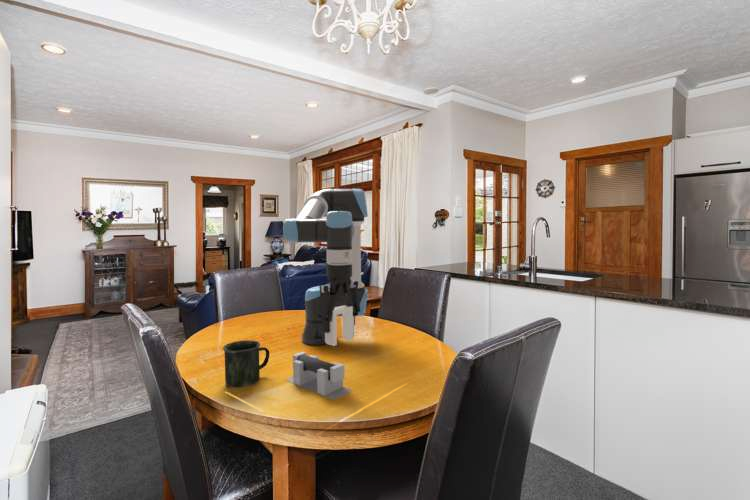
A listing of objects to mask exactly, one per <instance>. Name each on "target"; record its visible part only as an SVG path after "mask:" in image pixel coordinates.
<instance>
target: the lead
mask: <svg viewBox="0 0 750 500" xmlns="http://www.w3.org/2000/svg"><path fill="white" fill-rule="evenodd" d="M296 360H299V361H302V362H303V368H304V369H307V370H310V371H312V372H315V373H317V370H318V369H321V368H322V369H325V370H328V377H329V378H330V381H331V382H334V383H335V382H337V381H340V380H342V379H343V380H345V378H346V377H345V375H346V374H345V364H343V363H339V364H338V365H335V364H333V363H331V362H328V361H325V360H322V359H319V358H318V359H316V358H313V357H310V355H307V352H305V351H300V352H297V353H294V354H292V362H293V361H296Z"/></svg>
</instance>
